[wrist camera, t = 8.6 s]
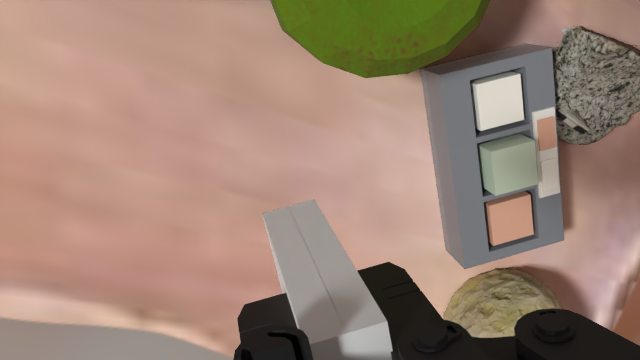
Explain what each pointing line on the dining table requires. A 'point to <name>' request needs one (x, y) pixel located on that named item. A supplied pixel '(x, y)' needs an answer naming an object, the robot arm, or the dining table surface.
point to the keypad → (463, 138)
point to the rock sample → (594, 85)
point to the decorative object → (498, 302)
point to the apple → (379, 31)
